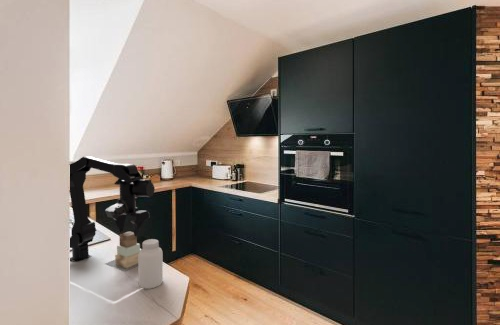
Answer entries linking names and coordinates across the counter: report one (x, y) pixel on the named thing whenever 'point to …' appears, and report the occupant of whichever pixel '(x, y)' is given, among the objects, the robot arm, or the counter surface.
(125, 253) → the tower mid
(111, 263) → the slate board
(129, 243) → the walnut block
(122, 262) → the tower base
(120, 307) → the counter surface
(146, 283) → the pill bottle
